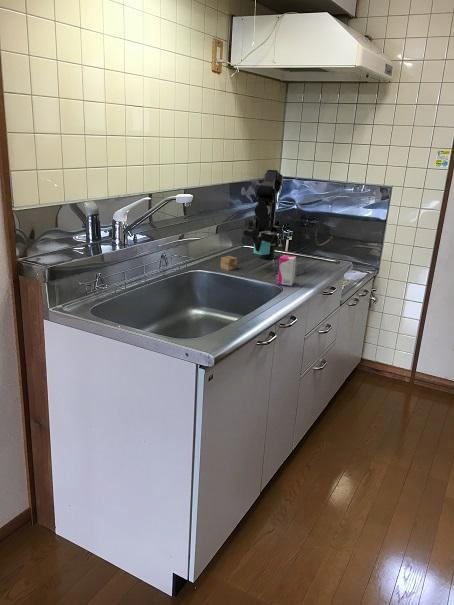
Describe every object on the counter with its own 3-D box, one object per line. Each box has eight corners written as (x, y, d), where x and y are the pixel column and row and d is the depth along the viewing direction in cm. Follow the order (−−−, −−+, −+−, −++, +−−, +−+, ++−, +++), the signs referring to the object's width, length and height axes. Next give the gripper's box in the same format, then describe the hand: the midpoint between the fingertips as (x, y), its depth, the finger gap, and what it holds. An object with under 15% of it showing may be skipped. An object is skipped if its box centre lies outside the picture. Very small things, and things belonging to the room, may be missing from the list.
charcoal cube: (294, 271, 222) (295, 260, 221) (303, 273, 219) (304, 262, 217) (287, 272, 219) (288, 261, 217) (296, 275, 216) (297, 264, 214)
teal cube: (261, 251, 221) (262, 240, 220) (269, 253, 218) (270, 242, 216) (253, 252, 218) (254, 241, 217) (261, 255, 215) (262, 243, 213)
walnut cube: (228, 266, 224) (229, 255, 223) (236, 269, 221) (237, 258, 219) (220, 268, 221) (221, 257, 219) (228, 270, 218) (228, 259, 216)
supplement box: (294, 283, 203) (296, 256, 200) (291, 287, 198) (293, 259, 194) (280, 281, 205) (282, 254, 202) (277, 285, 200) (279, 257, 196)
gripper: (265, 210, 224) (262, 244, 229) (235, 213, 212) (233, 249, 217) (284, 214, 217) (280, 249, 222) (254, 217, 204) (251, 254, 209)
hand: (261, 250), depth 218 cm, fingers closed on teal cube, 5 cm apart
